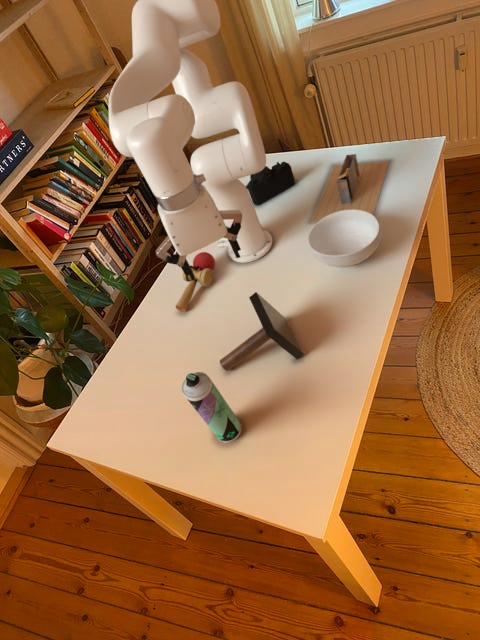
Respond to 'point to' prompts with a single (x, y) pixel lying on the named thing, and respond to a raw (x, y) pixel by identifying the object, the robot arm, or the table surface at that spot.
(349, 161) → the ruin model on sheet
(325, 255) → the cereal bowl
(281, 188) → the film camera
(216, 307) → the table surface
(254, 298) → the towel holder
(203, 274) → the kendama
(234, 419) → the spray can
